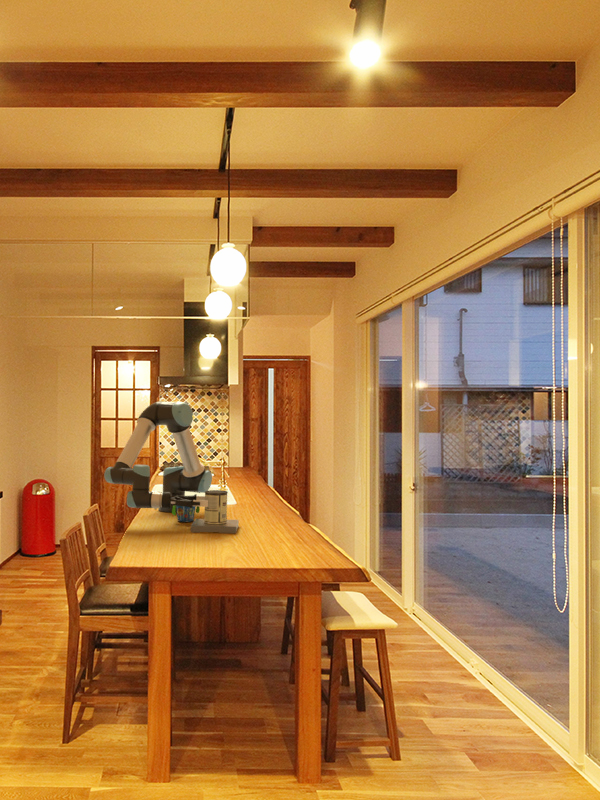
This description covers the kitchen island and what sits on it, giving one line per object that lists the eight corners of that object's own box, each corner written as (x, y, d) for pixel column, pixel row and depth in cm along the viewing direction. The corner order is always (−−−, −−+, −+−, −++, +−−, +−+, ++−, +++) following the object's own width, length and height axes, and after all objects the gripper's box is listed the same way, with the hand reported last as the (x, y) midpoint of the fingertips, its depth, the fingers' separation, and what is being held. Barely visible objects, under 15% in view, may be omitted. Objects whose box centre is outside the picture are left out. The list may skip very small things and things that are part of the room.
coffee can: (206, 520, 308) (207, 489, 309) (228, 521, 307) (229, 490, 308) (201, 523, 298) (202, 492, 298) (224, 524, 297) (225, 493, 298)
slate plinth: (195, 525, 312) (195, 518, 312) (238, 526, 312) (238, 519, 312) (190, 532, 294) (190, 525, 294) (236, 533, 294) (236, 526, 294)
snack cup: (192, 518, 331) (193, 497, 331) (205, 521, 323) (206, 500, 323) (165, 521, 320) (166, 499, 320) (178, 524, 312) (178, 502, 312)
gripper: (166, 504, 314) (211, 505, 315) (157, 512, 289) (206, 514, 290) (166, 488, 314) (211, 489, 315) (157, 495, 289) (206, 496, 290)
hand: (209, 501), depth 303 cm, fingers open, 13 cm apart
